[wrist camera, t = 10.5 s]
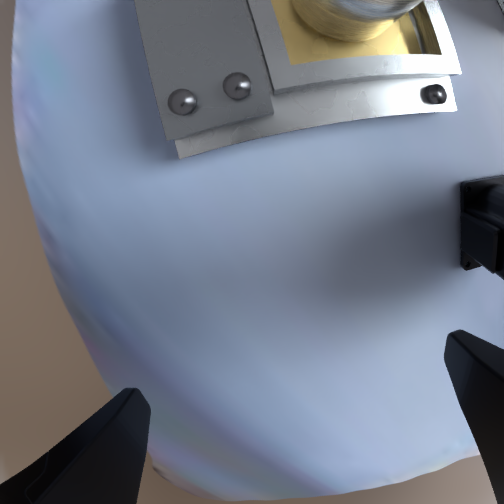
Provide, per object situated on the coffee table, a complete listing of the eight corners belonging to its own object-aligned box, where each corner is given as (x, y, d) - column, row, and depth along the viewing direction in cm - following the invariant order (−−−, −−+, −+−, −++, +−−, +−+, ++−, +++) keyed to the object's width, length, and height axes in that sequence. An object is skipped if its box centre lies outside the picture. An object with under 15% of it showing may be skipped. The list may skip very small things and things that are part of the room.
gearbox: (376, -64, 10) (396, -95, 6) (440, 111, 15) (482, 110, 11) (144, -28, 12) (116, -58, 8) (188, 156, 17) (163, 164, 13)
